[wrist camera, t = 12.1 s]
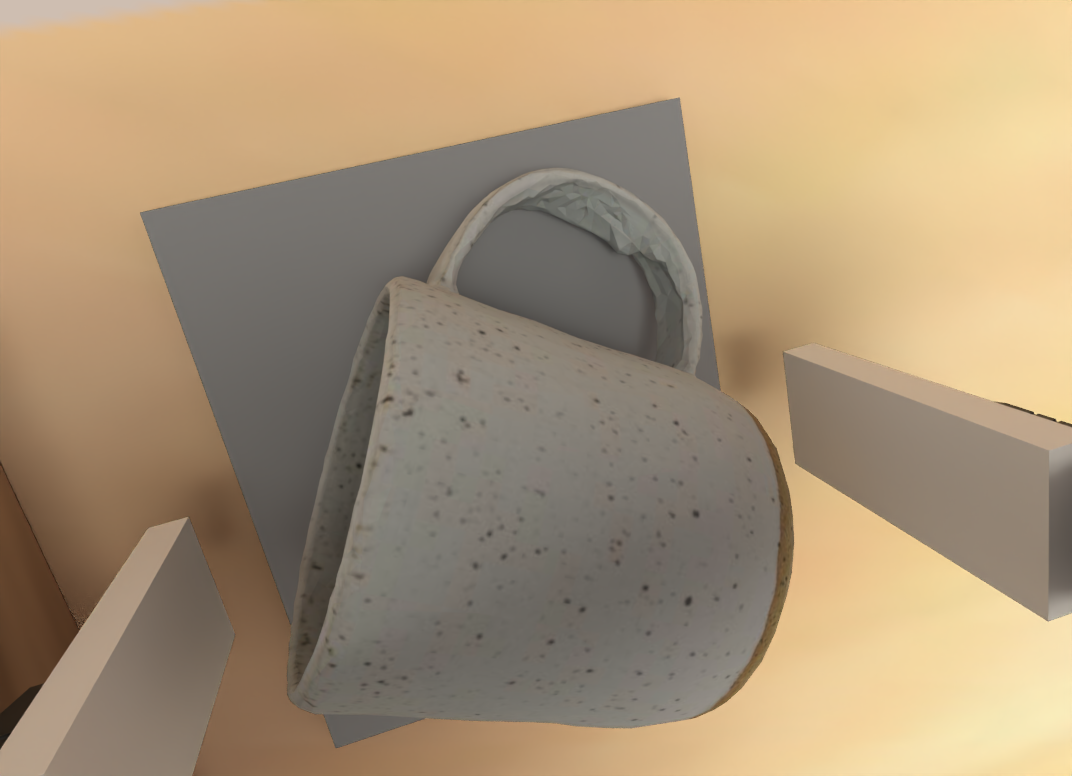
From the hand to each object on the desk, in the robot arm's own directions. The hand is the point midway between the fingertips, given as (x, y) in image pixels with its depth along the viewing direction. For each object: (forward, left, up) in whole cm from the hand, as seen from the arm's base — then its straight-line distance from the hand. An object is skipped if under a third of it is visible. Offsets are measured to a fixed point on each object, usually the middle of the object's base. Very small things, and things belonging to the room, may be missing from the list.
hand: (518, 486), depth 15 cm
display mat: (0, 0, -3) cm, 3 cm away
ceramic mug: (0, +1, -3) cm, 3 cm away
